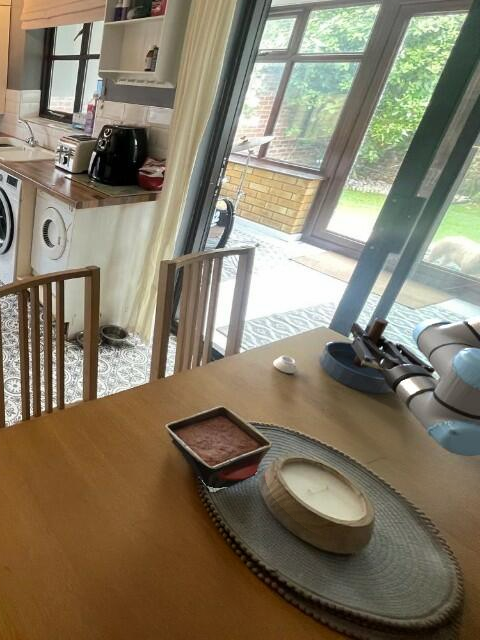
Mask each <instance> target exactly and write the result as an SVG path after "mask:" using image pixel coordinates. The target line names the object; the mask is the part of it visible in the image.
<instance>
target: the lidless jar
mask: <svg viewBox="0 0 480 640" xmlns="http://www.w3.org/2000/svg"><path fill="white" fill-rule="evenodd" d="M272 363H273V366H274V367H275V368H276V369H278V370H279V371H281V372H283V373H286V374H294V373H296V372H297V365H296V361H295V359H294V358H292V357H290V356H288V355H281V356H280V357H278V358H277V359H275V360H274V361H273V362H272Z"/></svg>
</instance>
